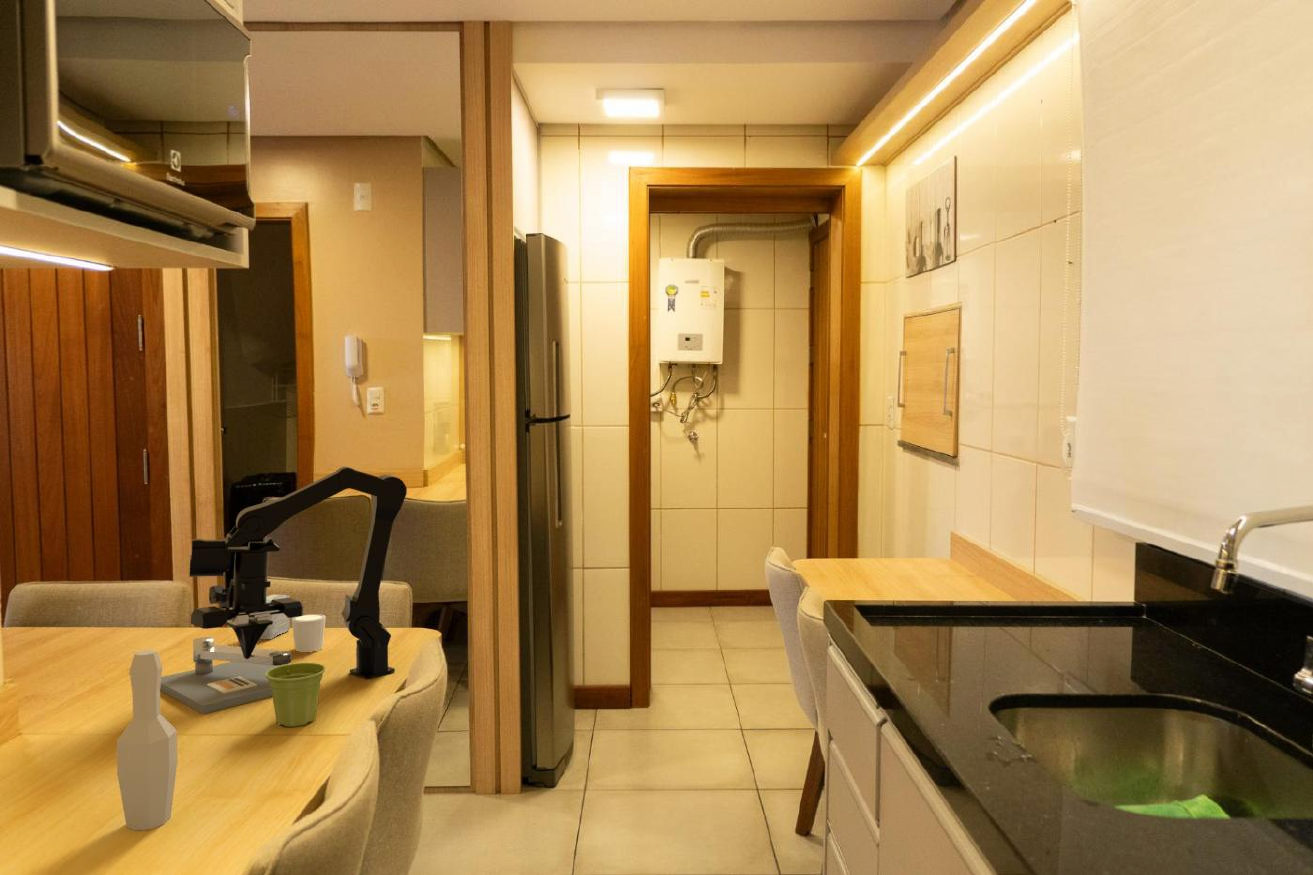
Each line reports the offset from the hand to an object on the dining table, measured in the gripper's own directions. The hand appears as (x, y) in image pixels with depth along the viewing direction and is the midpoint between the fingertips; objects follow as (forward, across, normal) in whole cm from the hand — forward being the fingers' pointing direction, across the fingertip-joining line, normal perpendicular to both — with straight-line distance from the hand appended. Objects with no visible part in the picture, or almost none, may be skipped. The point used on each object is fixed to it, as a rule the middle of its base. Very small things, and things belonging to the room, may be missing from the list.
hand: (246, 658), depth 164 cm
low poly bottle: (+8, +32, +42) cm, 53 cm away
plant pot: (+6, +2, +22) cm, 23 cm away
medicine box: (+5, -22, -34) cm, 40 cm away
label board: (+6, 0, -4) cm, 7 cm away
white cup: (+5, -22, -16) cm, 28 cm away
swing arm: (+2, -1, -4) cm, 5 cm away
